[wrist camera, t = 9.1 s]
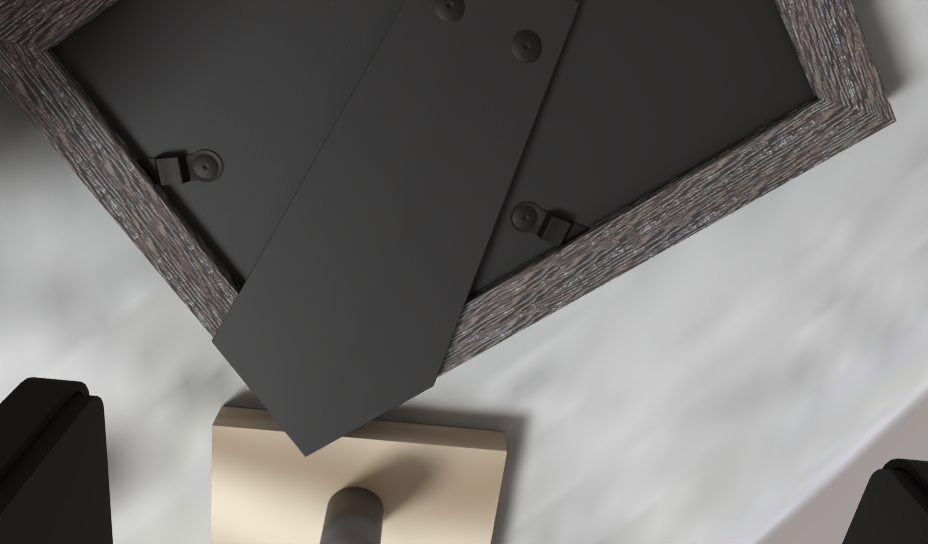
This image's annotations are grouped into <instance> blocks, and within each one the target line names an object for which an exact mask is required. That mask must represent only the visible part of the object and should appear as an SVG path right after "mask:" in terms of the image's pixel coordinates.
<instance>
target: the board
mask: <svg viewBox="0 0 928 544" xmlns="http://www.w3.org/2000/svg"><path fill="white" fill-rule="evenodd" d="M506 455H507V447H506V441H505V434H504V432H502V431H491V430H480V429H469V428H458V427H447V426H436V425H425V424H414V423H402V422H391V421H380V420H371V421H370V422H368V423H366V424H364V425H362V426H361V427H359V428H357V429H355V430H353V431H352V432H350V433H348V434H346V435H344V436H343V437H341V438H339V439H337V440H335V441H334V442H332V443H330V444H328V445H327V446H325V447H323V448H321V449H319V450H318V451H316V452H314V453H312V454H310V455H309V456H307V457H305V456H304V455H303V454H302V452H301V451H300V450H299V449H298V447H297V446H296V445H295V444H294V442H293V441H292V440H291V439H290V438H289V436H288V435H287V434H286V433H285V431H284V430H283V429H282V428H281V426H280V425H279V424H278V423H277V421H276V420H275V419H274V418H273V417H272V415H271V414H270V413H269V412H268V410H258V409H247V408H236V407H225V406H222V407H221V409H220V411H219V413H218V415H217V417H216V419H215V421H214V423H213V425H212V513H211V544H491V538H492V533H493V527H494V521H495V516H496V510H497V505H498V499H499V494H500V488H501V483H502V477H503V472H504V466H505V461H506Z"/></svg>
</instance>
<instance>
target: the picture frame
mask: <svg viewBox="0 0 928 544" xmlns="http://www.w3.org/2000/svg"><path fill="white" fill-rule="evenodd" d="M0 83H1V85H2V86H3V87H4V88H5V89H6V91H7V92H8V93H9V94H10V95H11V97H12V98H13V99H14V100H15V101H16V103H17V104H18V105H19V106H20V107H21V109H22V110H23V111H24V112H25V113H26V115H27V116H28V117H29V118H30V119H31V120H32V122H33V123H34V124H35V125H36V126H37V128H38V129H39V130H40V131H41V132H42V134H43V135H44V136H45V137H46V138H47V140H48V141H49V142H50V143H51V144H52V146H53V147H54V148H55V149H56V150H57V152H58V153H59V154H60V155H61V156H62V157H63V159H64V160H65V161H66V162H67V163H68V165H69V166H70V167H71V168H72V169H73V171H74V172H75V173H76V174H77V175H78V177H79V178H80V179H81V180H82V181H83V183H84V184H85V185H86V186H87V187H88V189H89V190H90V191H91V192H92V193H93V194H94V196H95V197H96V198H97V199H98V200H99V202H100V203H101V204H102V205H103V206H104V208H105V209H106V210H107V211H108V212H109V214H110V215H111V216H112V217H113V218H114V220H115V221H116V222H117V223H118V224H119V226H120V227H121V228H122V229H123V230H124V231H125V233H126V234H127V235H128V236H129V237H130V239H131V240H132V241H133V242H134V243H135V245H136V246H137V247H138V248H139V249H140V251H141V252H142V253H143V254H144V255H145V257H146V258H147V259H148V260H149V261H150V263H151V264H152V265H153V266H154V267H155V268H156V270H157V271H158V272H159V273H160V274H161V276H162V277H163V278H164V279H165V280H166V282H167V283H168V284H169V285H170V286H171V288H172V289H173V290H174V291H175V292H176V294H177V295H178V296H179V297H180V298H181V300H182V301H183V302H184V303H185V304H186V305H187V307H188V308H189V309H190V310H191V311H192V313H193V314H194V315H195V316H196V317H197V319H198V320H199V321H200V322H201V323H202V325H203V326H204V327H205V328H206V329H207V331H208V332H209V333H210V334H211V335H212V337H213V340H212V342H213V344H214V345H215V346H216V347H217V349H218V350H219V351H220V352H221V354H222V355H223V356H224V357H225V358H226V360H227V361H228V362H229V363H230V365H231V366H232V367H233V368H234V370H235V371H236V372H237V373H238V375H239V376H240V377H241V378H242V379H243V381H244V382H245V383H246V384H247V386H248V387H249V388H250V389H251V391H252V392H253V393H254V394H255V396H256V397H257V398H258V399H259V400H260V402H261V403H262V404H263V405H264V407H265V408H266V409H267V410H268V412H269V413H270V414H271V415H272V417H273V418H274V419H275V420H276V421H277V423H278V424H279V425H280V426H281V428H282V429H283V430H284V431H285V433H286V434H287V435H288V436H289V438H290V439H291V440H292V441H293V442H294V444H295V445H296V446H297V447H298V449H299V450H300V451H301V452H302V454H303V455H304V456H305V457H307V456H309V455H310V454H312V453H314V452H316V451H318V450H319V449H321V448H323V447H325V446H327V445H328V444H330V443H332V442H334V441H335V440H337V439H339V438H341V437H343V436H344V435H346V434H348V433H350V432H352V431H353V430H355V429H357V428H359V427H361V426H362V425H364V424H366V423H368V422H370V421H371V420H373V419H375V418H377V417H379V416H380V415H382V414H384V413H386V412H388V411H389V410H391V409H393V408H395V407H396V406H398V405H400V404H402V403H404V402H405V401H407V400H409V399H411V398H413V397H414V396H416V395H418V394H420V393H422V392H423V391H425V390H427V389H429V388H431V387H432V386H434V383H435V381H436V378H437V377H439V376H441V375H442V374H444V373H446V372H448V371H450V370H451V369H453V368H455V367H457V366H459V365H460V364H462V363H464V362H466V361H467V360H469V359H471V358H473V357H475V356H476V355H478V354H480V353H482V352H484V351H485V350H487V349H489V348H491V347H493V346H494V345H496V344H498V343H500V342H501V341H503V340H505V339H507V338H509V337H510V336H512V335H514V334H516V333H518V332H519V331H521V330H523V329H525V328H527V327H528V326H530V325H532V324H534V323H536V322H537V321H539V320H541V319H543V318H544V317H546V316H548V315H550V314H552V313H553V312H555V311H557V310H559V309H561V308H562V307H564V306H566V305H568V304H570V303H571V302H573V301H575V300H577V299H578V298H580V297H582V296H584V295H586V294H587V293H589V292H591V291H593V290H595V289H596V288H598V287H600V286H602V285H604V284H605V283H607V282H609V281H611V280H613V279H614V278H616V277H618V276H620V275H621V274H623V273H625V272H627V271H629V270H630V269H632V268H634V267H636V266H638V265H639V264H641V263H643V262H645V261H647V260H648V259H650V258H652V257H654V256H655V255H657V254H659V253H661V252H663V251H664V250H666V249H668V248H670V247H672V246H673V245H675V244H677V243H679V242H681V241H682V240H684V239H686V238H688V237H689V236H691V235H693V234H695V233H697V232H698V231H700V230H702V229H704V228H706V227H707V226H709V225H711V224H713V223H715V222H716V221H718V220H720V219H722V218H724V217H725V216H727V215H729V214H731V213H732V212H734V211H736V210H738V209H740V208H741V207H743V206H745V205H747V204H749V203H750V202H752V201H754V200H756V199H758V198H759V197H761V196H763V195H765V194H766V193H768V192H770V191H772V190H774V189H775V188H777V187H779V186H781V185H783V184H784V183H786V182H788V181H790V180H792V179H793V178H795V177H797V176H799V175H800V174H802V173H804V172H806V171H808V170H809V169H811V168H813V167H815V166H817V165H818V164H820V163H822V162H824V161H826V160H827V159H829V158H831V157H833V156H835V155H836V154H838V153H840V152H842V151H843V150H845V149H847V148H849V147H851V146H852V145H854V144H856V143H858V142H860V141H861V140H863V139H865V138H867V137H869V136H870V135H872V134H874V133H876V132H877V131H879V130H881V129H883V128H885V127H886V126H888V125H890V124H892V123H894V122H895V121H896V118H895V116H894V113H893V111H892V108H891V105H890V103H889V100H888V98H887V95H886V92H885V90H884V87H883V85H882V82H881V79H880V77H879V74H878V72H877V69H876V66H875V64H874V61H873V59H872V56H871V53H870V51H869V48H868V45H867V43H866V40H865V38H864V35H863V32H862V30H861V27H860V25H859V22H858V19H857V17H856V14H855V12H854V9H853V6H852V4H851V1H850V0H0Z"/></svg>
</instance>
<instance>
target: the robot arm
mask: <svg viewBox="0 0 928 544" xmlns="http://www.w3.org/2000/svg"><path fill="white" fill-rule="evenodd" d="M0 544H113V538H112V523H111V507H110V492H109V477H108V462H107V447H106V432H105V417H104V406H103V402H102V399H101V398H100V397H98V396H91V395H89V390H88V388H87V386H86V384H84V383H83V382H78V381H68V380H57V379H47V378H36V377H31V378H27V379H25V380H24V381H23V382H21V383H20V384H19V385H18V386H17V387H16V388H15V389H14V390H13V391H12V392H11V393H10V394H9V395H8V396H7V397H6V398H5V399H4V400H3V401H2V402H1V403H0ZM842 544H928V461H919V460H908V459H893V460H890V461H889V462H888V463H887V464H885V466H884V467H883V469H879V470H877V471H875V472H874V473H873V474H872V476H871V478H870V479H869V482H868V484H867V486H866V489H865V491H864V494H863V496H862V498H861V501H860V503H859V505H858V508H857V510H856V512H855V515H854V517H853V520H852V522H851V524H850V527H849V529H848V531H847V534H846V536H845V539H844V541H843V543H842Z"/></svg>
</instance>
